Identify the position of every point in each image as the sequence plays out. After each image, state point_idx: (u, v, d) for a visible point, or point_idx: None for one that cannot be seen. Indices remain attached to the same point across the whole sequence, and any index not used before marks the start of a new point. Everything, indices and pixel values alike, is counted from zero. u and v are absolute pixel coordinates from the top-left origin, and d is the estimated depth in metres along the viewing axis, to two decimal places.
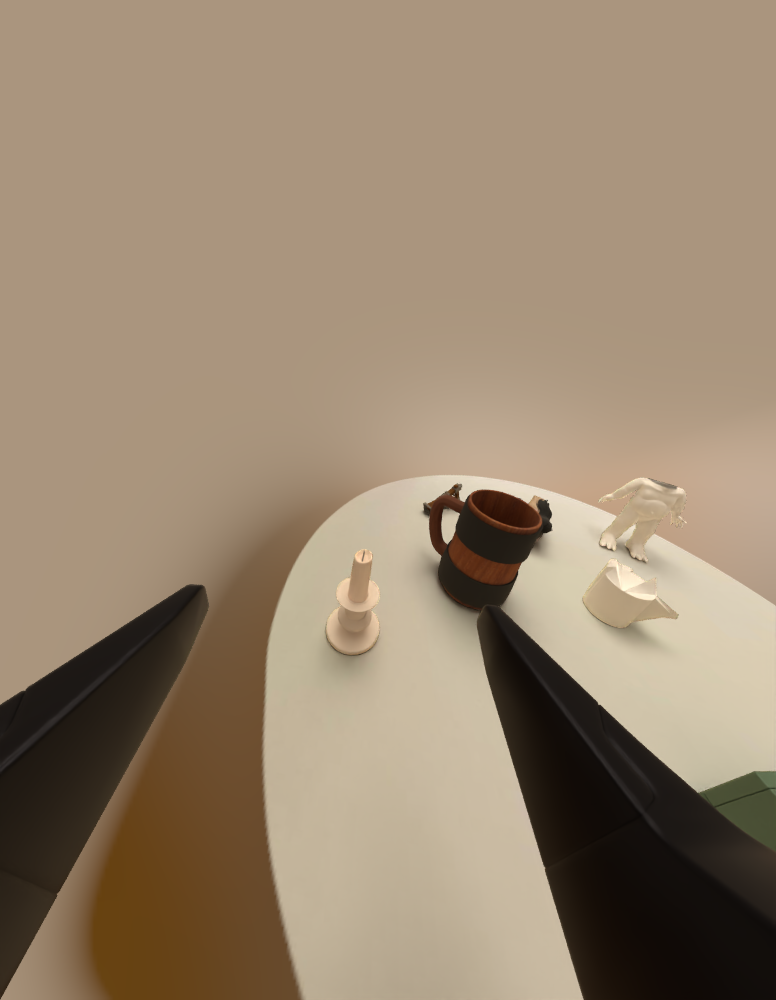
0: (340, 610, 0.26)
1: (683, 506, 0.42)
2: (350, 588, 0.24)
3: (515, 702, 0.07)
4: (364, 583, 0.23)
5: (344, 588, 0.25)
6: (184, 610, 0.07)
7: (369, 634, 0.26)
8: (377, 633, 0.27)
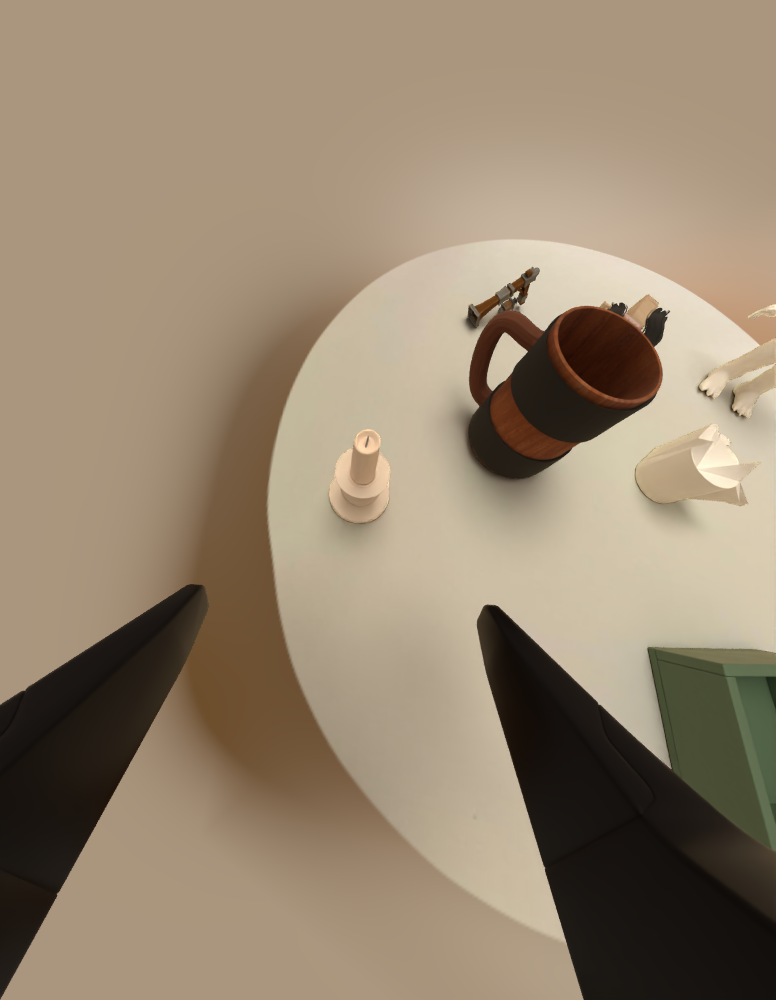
0: None
1: None
2: (352, 470, 0.18)
3: (515, 702, 0.07)
4: (369, 470, 0.17)
5: (346, 464, 0.19)
6: (184, 610, 0.07)
7: (377, 503, 0.24)
8: (386, 502, 0.24)
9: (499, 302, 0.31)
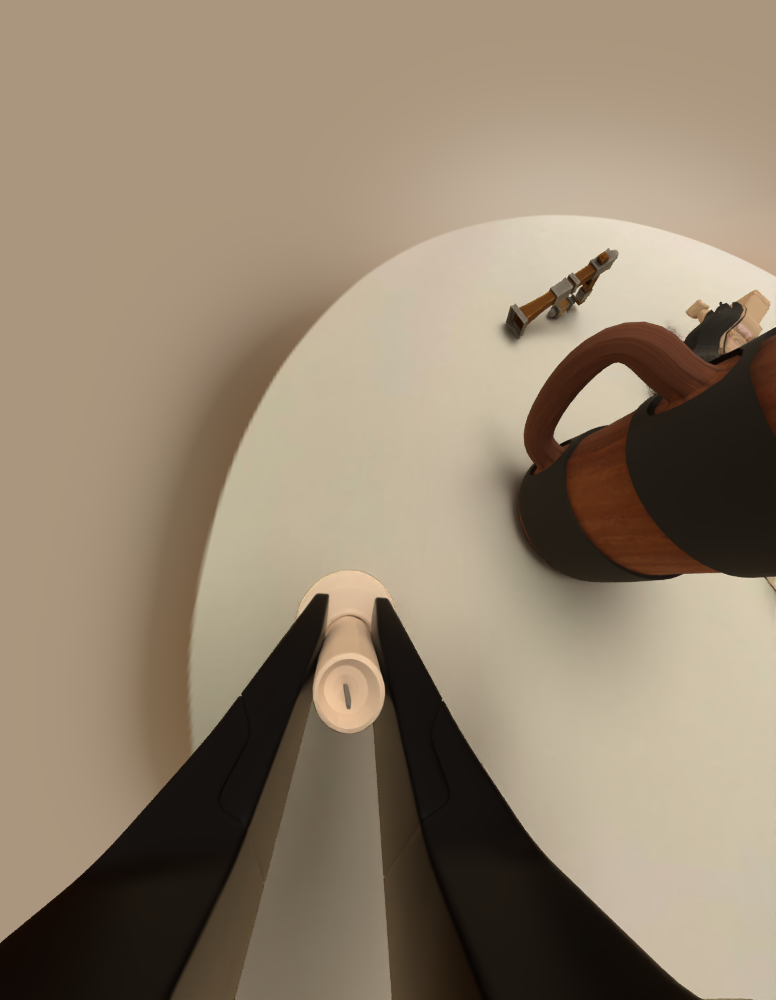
0: None
1: None
2: None
3: None
4: None
5: None
6: (325, 618, 0.08)
7: None
8: None
9: (555, 301, 0.21)
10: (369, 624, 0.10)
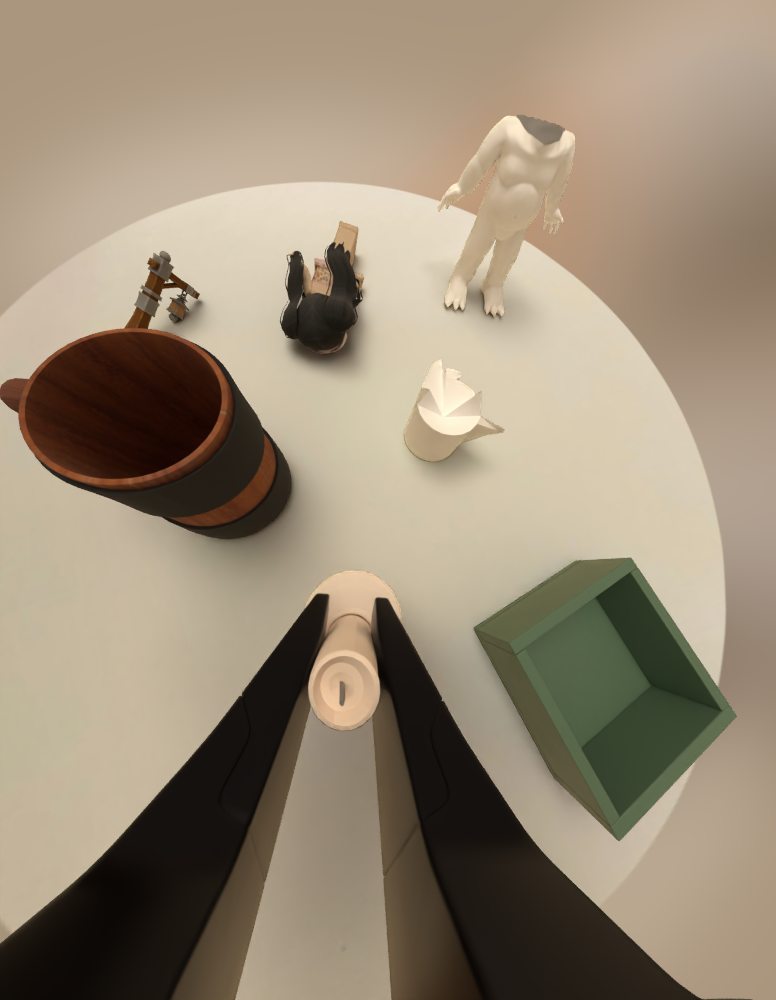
0: None
1: (565, 184, 0.23)
2: None
3: None
4: None
5: None
6: (325, 618, 0.08)
7: None
8: None
9: (149, 314, 0.23)
10: None
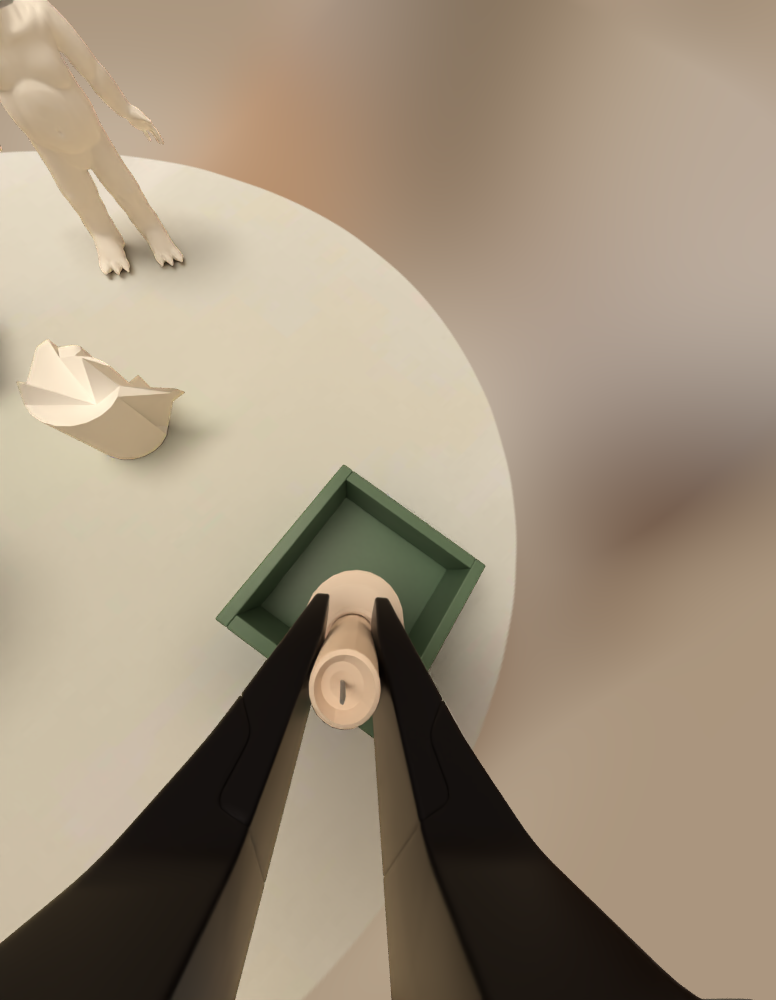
0: None
1: (96, 69, 0.18)
2: None
3: None
4: None
5: None
6: (325, 618, 0.08)
7: None
8: None
9: None
10: None
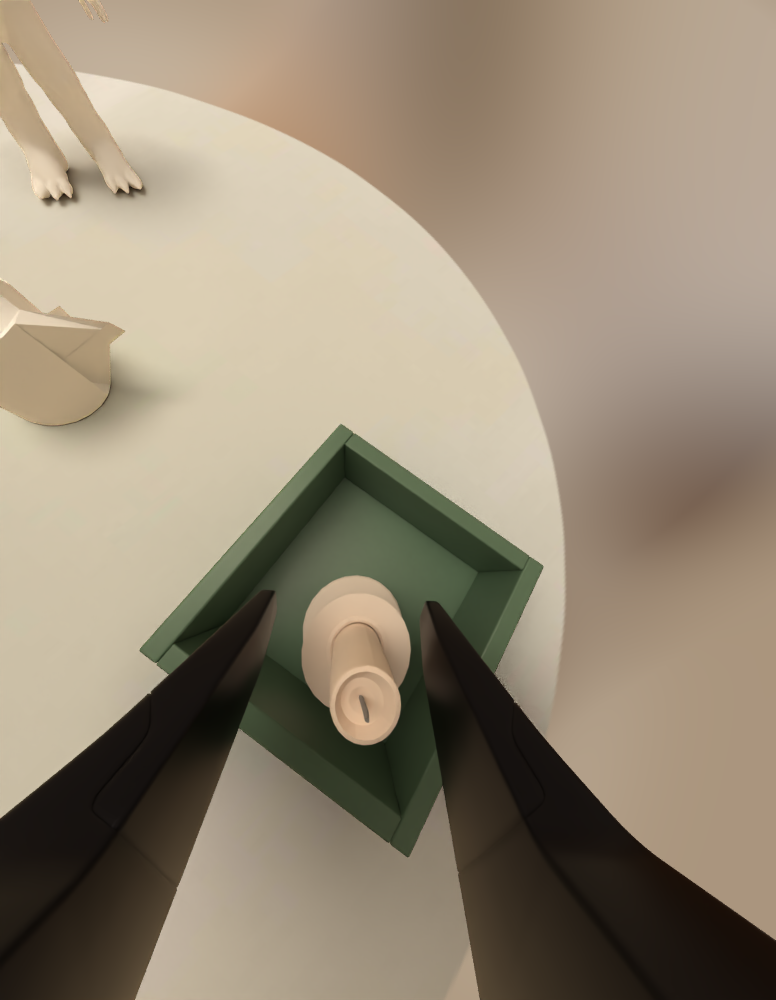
0: None
1: None
2: None
3: (441, 700, 0.07)
4: None
5: (323, 634, 0.10)
6: (265, 615, 0.08)
7: None
8: None
9: None
10: (378, 631, 0.10)
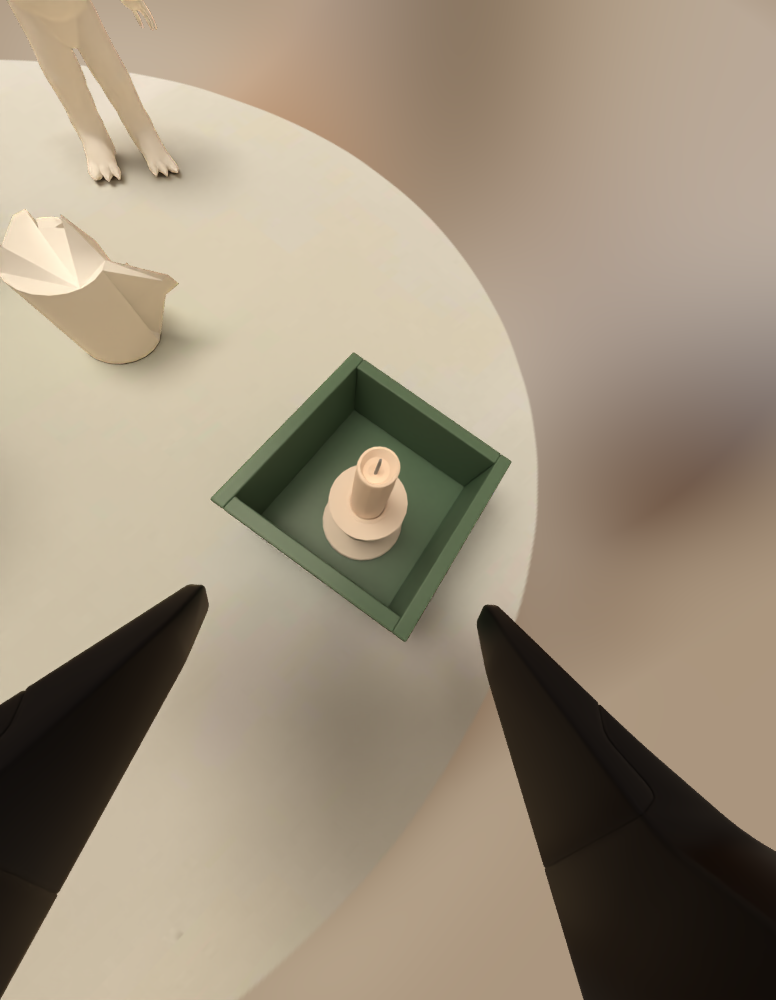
0: None
1: None
2: (353, 502, 0.12)
3: (515, 702, 0.07)
4: (380, 504, 0.11)
5: (344, 490, 0.14)
6: (184, 610, 0.07)
7: None
8: (398, 532, 0.18)
9: None
10: None
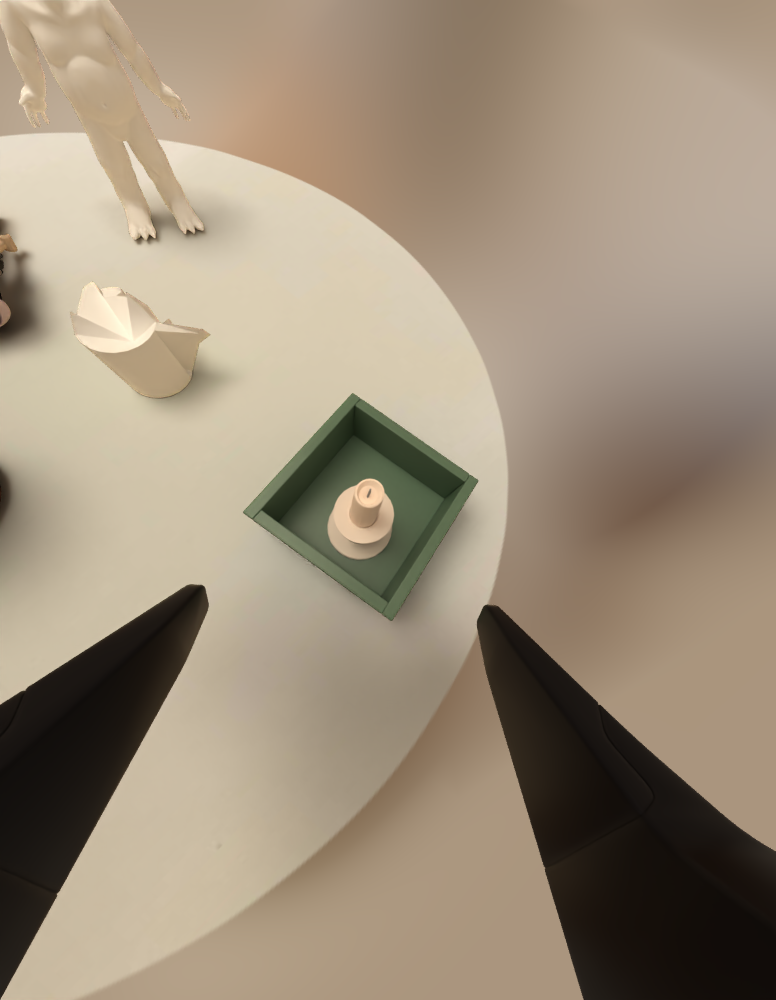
0: None
1: (137, 50, 0.21)
2: (352, 515, 0.17)
3: (515, 702, 0.07)
4: (371, 517, 0.15)
5: (345, 505, 0.18)
6: (184, 610, 0.07)
7: None
8: (389, 536, 0.22)
9: None
10: None
